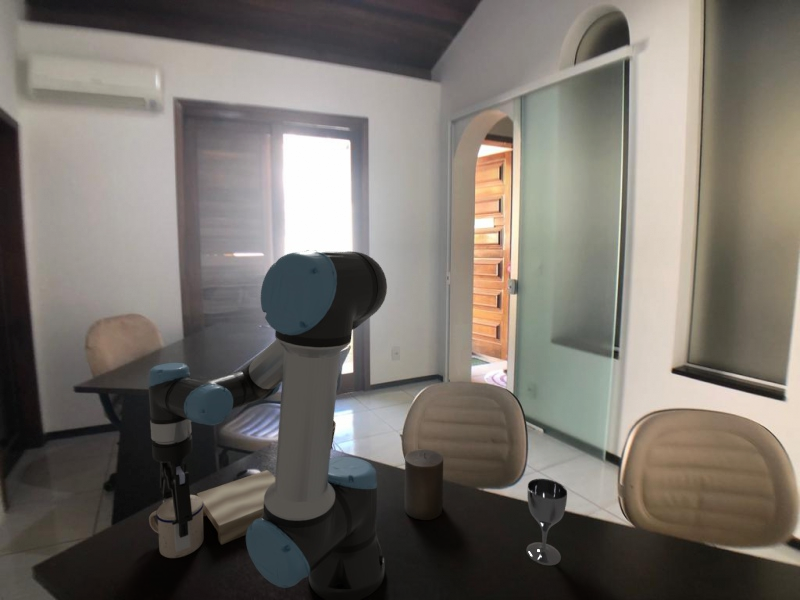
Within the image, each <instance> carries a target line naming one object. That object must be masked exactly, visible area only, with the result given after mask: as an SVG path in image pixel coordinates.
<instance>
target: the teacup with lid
mask: <svg viewBox="0 0 800 600" xmlns="http://www.w3.org/2000/svg"><path fill="white" fill-rule="evenodd" d="M190 499H191V508H192V516H193V519H192V520H191V521H189V522H190V544H191V547H188V548H186V549H183V550H181V551H178V552H176V550H175V529H174V525H172V522H173V521H175V520H176V518H175V512H174V505H173V498H171V499H169V500H167V501H166V502H164V503H163V502H162V503H161V505H159V507H158V508H157V510H155V511H153V512H151V514H150V515H149V517H148V522H149V526H150V527H151V529H152V531H154V532H155V533H157V534H158V548H159V549H158V550H159V553H160V555H161V556H162V557H165V558H169V559H178V558H182V557H186V556H188V555H191V554H192V553H194V552H195V551H196V550H198V549H199V548H200V547H201V545H202V544H203V542H204V537H205V536H204V517H203V509H202V508H203V501H202V499H201V498H200V497H198V496H197V494H196V495H195V494H190ZM155 516H156V519H157V521H156V519H155Z"/></svg>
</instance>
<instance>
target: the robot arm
mask: <svg viewBox="0 0 800 600" xmlns="http://www.w3.org/2000/svg"><path fill="white" fill-rule="evenodd" d="M387 289H388V284H387V278H386V275H385V272H384V270H383V268H382V267H381V265H380V264H379V263H378V262H377V261H376V260H375V259H374V258H373V257H371V256H369V255H368V254H365V253H363V252H359V251H351V250H350V251H330V250H329V251H327V250H325V251H324V250H323V251H321V250H306V251H305V250H304V251H298V252H291V253H290V252H289V253H287V254H285V255H282V256H281V257H279V258H278V259H277V260H276V262H275V263H273V264H272V265H271V266H270V267H269V269H268V270H267V272H266V273H265V275H264V278H263V281H262V286H261V289H260V306H261V307H260V308H261V310H262V312H263V313H265V314H266V315H265V317H264V319H265V320H266V322H267V323H268V324H269V326H270V327H271V328H272V329H274V332H275V333H274V335H275V337H274V339H275V340H274V341H273V342H271V344H269V345H268V346H267V347H266V348H265V349H264V350H263V351H262V352H261V353H260V354H259V355H257V357H255V358H254V359H253V361H251V362H250V363H249V364H248V365H246V367H244V368H243V369H240V370H236V371H234V372H229V373H226V374H222V375H219V376H215V377H212V378H209V379H205V380H199V379H195V378H191V372H190V367H189V366H188V364H186V363H184V362H183V363H182V362H169V363H168V362H167V363H162V364H158V365H155V366H153V367H152V368H150V370H148V385H147V388H148V400H149V414H150V415H149V417H150V421H149V423H150V438H151V440H152V441H151V454H152V458H153V460H155V461H156V462H159V463H160V464H159V491H160V493H161V497H162V499H163V500H162V504H163V503H164V502H166V501H167V500H169V499H171V498H173V505H174V512H175V518H176V520H175V521H173V522H172V525H174V529H175V550H176V552H178V551H181V550H183V549H186V548H188V547H191V544H190V522H189V521H191V520H192V519H193V516H192V508H191V499H190V495H191V492H190V491H191V490H190V472H189V471H187V464H186V462H184V461H183V460H184V459H185V458H186V457H188V456H189V455H191V453H192V452H193V450H194V449H193V435H192V422H193V423H197V424H202V425H207V426H216V425H218V424H221V423H222V422H224V420H225V419H226V418H228V417H229V415H231V412H232V411H234V410H237V409H238V408H241V407H243V406H247V405H249V404H252V403H255V402H258V401H261V400H265V399H268V398H269V397H271V396H273V395H275V394H277V393H278V391H279V390H280V387H281V392H280V393H281V395H280V407H279V418H278V419H279V420H278V421H279V422H278V434H277V449H276V462H275V473H274V474H275V475H274V476H275V482H274V483H273V484H271V485H270V486H269V488H268V489H267V490H266V492H265V495H264V506H263V515H262V516H261V518H259V519H256V520H254V521H253V523H252V524H251V525H250V526H249V527H248V529H247V532H246V535H245V543H246V549H247V552H248V555H249V557H250V560H251V562H252V563H253V565H254V566H255V568H256V569H257V571H258V572H259V573H260V574H261V576H262V577H263V578H265V580H267V581H268V582H269V583H271V584H272V585H274V586H276V587H279V588H284V589H286V588H291V587H294V586H296V585H297V584H298V583H299V582H300V581H302V580H303V579H305V578H307V577H308V583H309V586H310V588H311V589H312V591H313V592H314V593H315V594H316V595H317V596H319V597H320V598H322V599H324V600H364V599H365V598H367V597H369V596H370V595H372V594H373V593H374V592H375V591H377V589H379V587H380V586H381V584H382V583H383V581H384V578H385V570H386V569H385V568H386V567H385V556H384V554H383V550H382V548H381V545H380V541H379V539H378V535H377V510H378V509H377V501H378V500H377V497H378V496H377V495H378V482H377V481H378V480H377V470H376V468H375V467H374V465H372V464H371V462H368V461H366V460H364V459H362V458H358V457H353V456H336V457H331V451H332V448H331V442H332V432H333V421H335V419H334V418H335V410H336V399H337V388H338V378H339V369H340V358H341V356H340V355H341V351H342V350H343V349H345V348H346V347H348V346H349V345H350V344H351V342H352V336H353V335H352V333H353V331H354V330H355V329H356V328H358V327H360V326H361V325H362V324H363V323H364V322H366V321H367V320H368V319H370V318H371V317H372V316H373V315H375V314H376V313H377V312H378V311H379V309H381V307H382V305H383V304H384V302H385V300H386V296H387V293H388V292H387V291H388V290H387Z"/></svg>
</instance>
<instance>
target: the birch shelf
mask: <svg viewBox="0 0 800 600" xmlns="http://www.w3.org/2000/svg"><path fill="white" fill-rule="evenodd" d="M274 482H275V475H273V473H271V472H270V471H269V470H268V469H266V470H263V471H259V472H257V473H254V474H251V475H248V476H246V477H242V478H239V479H236V480H233V481H231V482H227V483H224V484H222V485H219V486H216V487H212V488H209V489H207V490H203V491H200V492H198V493H196V496H198V497H200V498H201V499H202V501H203V508H202V509H203V518H205V517H207V518H208V519H209V521H210V522H211V524H212V526H213V527H214V529H216V532H217V539H218V542H219V544H220V545H224V544H226V543H229V542H232V541H234V540H237V539H239V538H241V537H243V536H246V532H247V529H248V527H249V526H250V525H251V524H252V523H253V521H254V520H256V519H259V518H261V516H262V515H263V506H264V495H265V492H266V490H267V489H268V488H269V486H270V485H271V484H273V483H274Z"/></svg>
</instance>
